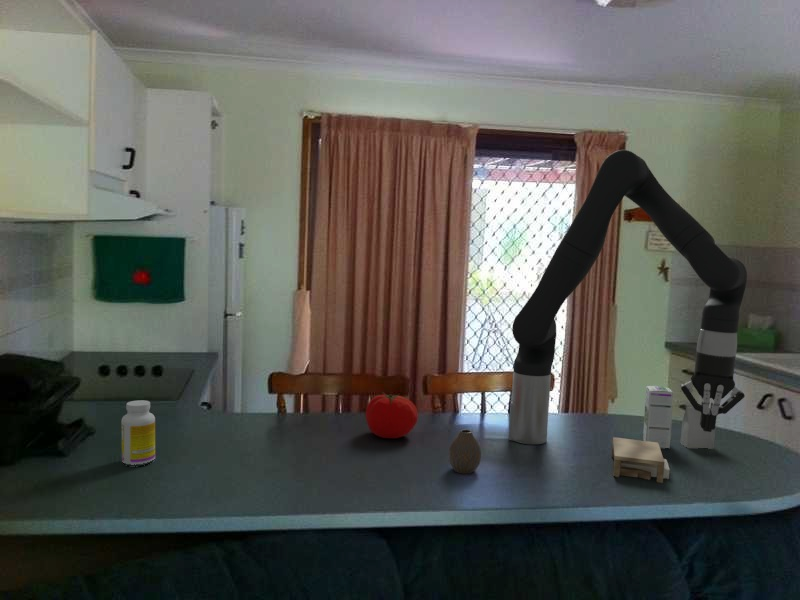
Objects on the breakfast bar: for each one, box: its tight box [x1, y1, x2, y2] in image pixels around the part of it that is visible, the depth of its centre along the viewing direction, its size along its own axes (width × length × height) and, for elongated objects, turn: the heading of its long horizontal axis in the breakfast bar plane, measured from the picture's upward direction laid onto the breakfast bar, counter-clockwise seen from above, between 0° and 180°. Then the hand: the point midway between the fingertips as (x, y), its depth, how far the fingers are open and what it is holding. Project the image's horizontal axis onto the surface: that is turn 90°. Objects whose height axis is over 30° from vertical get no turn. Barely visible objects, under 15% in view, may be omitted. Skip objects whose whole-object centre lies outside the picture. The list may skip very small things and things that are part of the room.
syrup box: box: [642, 385, 674, 449], centre depth 162 cm, size 6×6×14 cm
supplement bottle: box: [120, 399, 156, 465], centre depth 136 cm, size 7×7×13 cm
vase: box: [448, 429, 482, 475], centre depth 139 cm, size 7×7×9 cm
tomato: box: [365, 391, 419, 439], centre depth 161 cm, size 13×12×11 cm
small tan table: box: [611, 436, 665, 484], centre depth 144 cm, size 10×14×5 cm
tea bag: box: [679, 406, 717, 450], centre depth 163 cm, size 4×7×10 cm, turn 91°
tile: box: [621, 458, 670, 480], centre depth 144 cm, size 10×7×2 cm
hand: (707, 430), depth 139 cm, fingers closed
